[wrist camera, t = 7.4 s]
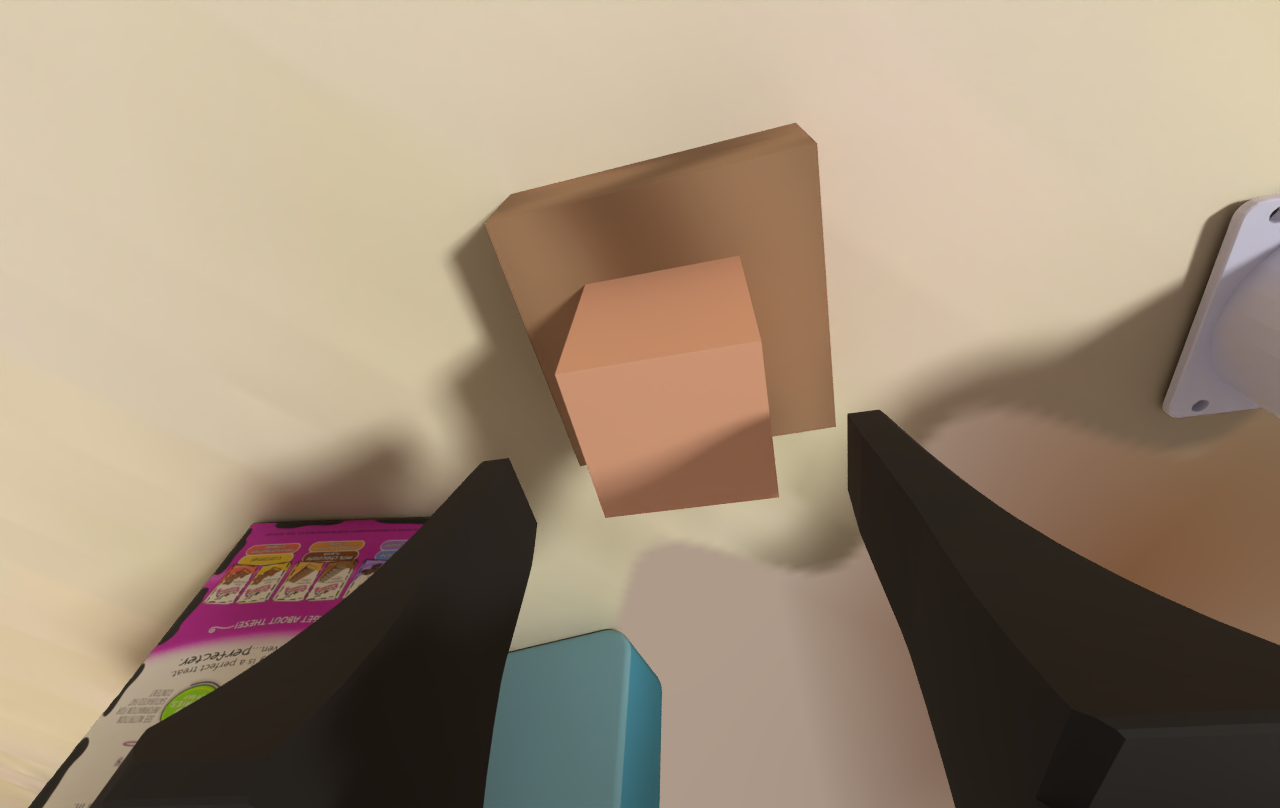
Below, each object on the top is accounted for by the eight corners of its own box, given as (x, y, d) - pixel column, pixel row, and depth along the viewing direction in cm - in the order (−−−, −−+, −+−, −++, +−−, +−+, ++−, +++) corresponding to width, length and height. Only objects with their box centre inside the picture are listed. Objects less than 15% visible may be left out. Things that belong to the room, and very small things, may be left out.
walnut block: (793, 120, 17) (817, 143, 14) (815, 372, 22) (835, 426, 19) (514, 191, 19) (483, 224, 16) (592, 410, 24) (580, 466, 21)
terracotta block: (739, 255, 16) (761, 340, 12) (755, 388, 18) (779, 497, 14) (585, 284, 17) (554, 374, 13) (620, 408, 19) (605, 517, 15)
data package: (492, 701, 37) (424, 956, 27) (451, 664, 34) (360, 928, 24) (663, 665, 33) (659, 942, 23) (630, 621, 31) (609, 907, 21)
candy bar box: (296, 584, 31) (-2, 1037, 17) (252, 518, 28) (-147, 998, 14) (499, 581, 30) (351, 1061, 16) (474, 512, 27) (270, 1024, 13)
